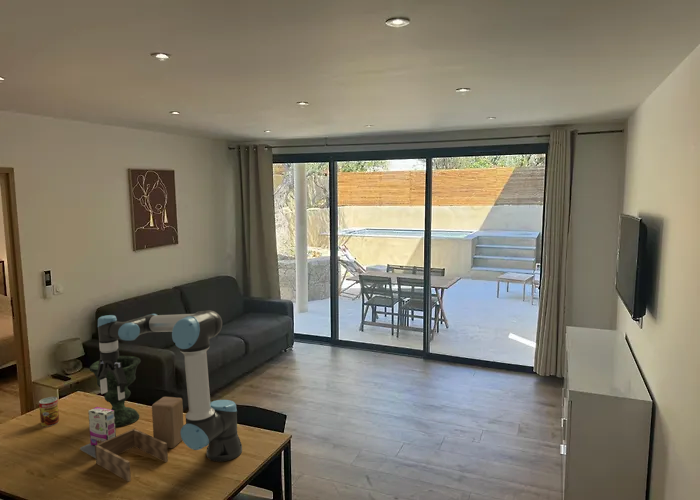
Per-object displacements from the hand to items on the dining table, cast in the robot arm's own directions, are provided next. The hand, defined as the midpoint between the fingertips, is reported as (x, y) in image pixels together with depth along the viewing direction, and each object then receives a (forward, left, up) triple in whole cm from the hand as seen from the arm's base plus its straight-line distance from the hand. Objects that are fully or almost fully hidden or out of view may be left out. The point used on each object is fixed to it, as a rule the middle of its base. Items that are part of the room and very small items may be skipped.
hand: (112, 396), depth 218 cm
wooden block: (-19, -14, -23) cm, 33 cm away
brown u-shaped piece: (-21, +5, -23) cm, 32 cm away
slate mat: (+2, +5, -23) cm, 24 cm away
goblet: (+22, -14, -23) cm, 35 cm away
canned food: (+48, +7, -23) cm, 54 cm away
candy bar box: (+2, +4, -22) cm, 23 cm away
